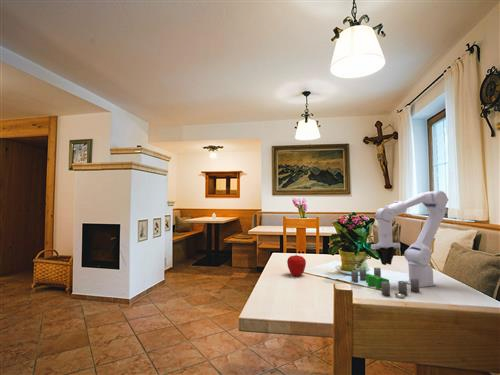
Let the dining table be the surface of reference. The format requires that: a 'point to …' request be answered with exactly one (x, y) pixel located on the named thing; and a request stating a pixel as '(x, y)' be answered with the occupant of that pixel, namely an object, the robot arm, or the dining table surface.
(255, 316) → the dining table surface
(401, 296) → the steel nut
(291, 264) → the red rounded piece
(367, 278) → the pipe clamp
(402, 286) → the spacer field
